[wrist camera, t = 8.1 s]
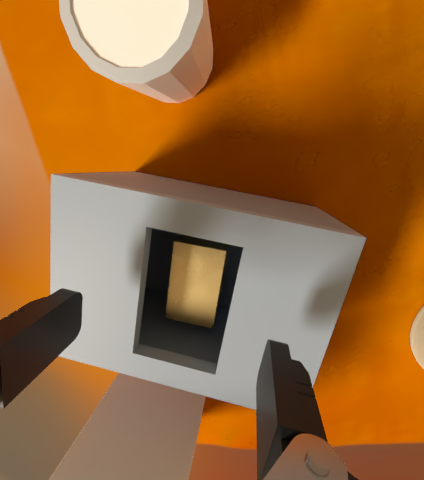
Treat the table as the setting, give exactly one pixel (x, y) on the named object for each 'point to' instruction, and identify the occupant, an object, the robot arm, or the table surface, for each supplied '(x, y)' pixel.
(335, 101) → the table surface
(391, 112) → the table surface
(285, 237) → the coin box
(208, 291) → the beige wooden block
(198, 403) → the milk carton
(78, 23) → the white cup
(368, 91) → the table surface
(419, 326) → the can
